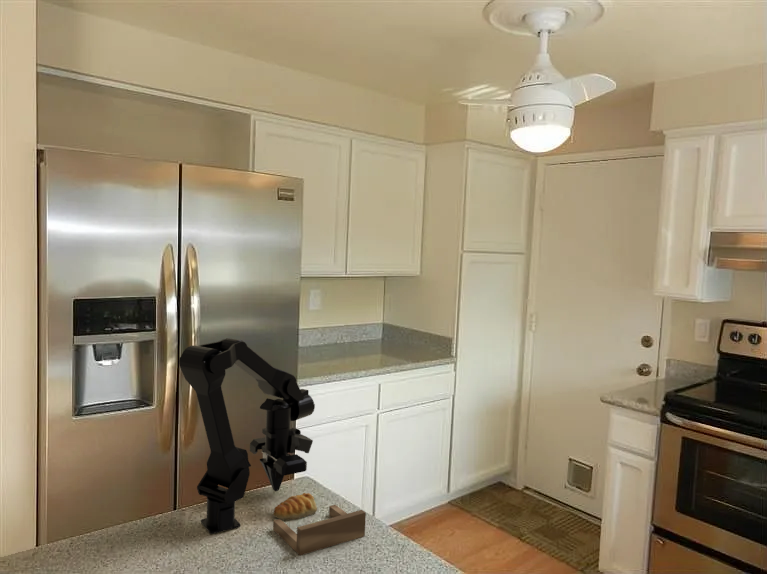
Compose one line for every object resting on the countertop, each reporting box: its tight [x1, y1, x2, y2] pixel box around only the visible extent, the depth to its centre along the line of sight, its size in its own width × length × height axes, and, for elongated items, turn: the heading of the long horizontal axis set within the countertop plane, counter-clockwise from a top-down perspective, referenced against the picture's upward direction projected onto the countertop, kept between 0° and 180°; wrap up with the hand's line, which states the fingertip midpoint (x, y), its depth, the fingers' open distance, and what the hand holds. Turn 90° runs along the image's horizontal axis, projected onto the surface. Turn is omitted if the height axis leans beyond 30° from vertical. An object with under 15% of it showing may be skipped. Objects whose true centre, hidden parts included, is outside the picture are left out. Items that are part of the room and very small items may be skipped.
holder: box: [272, 504, 367, 556], centre depth 121 cm, size 12×15×5 cm
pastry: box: [273, 492, 318, 521], centre depth 130 cm, size 9×7×4 cm
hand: (276, 490), depth 138 cm, fingers closed
